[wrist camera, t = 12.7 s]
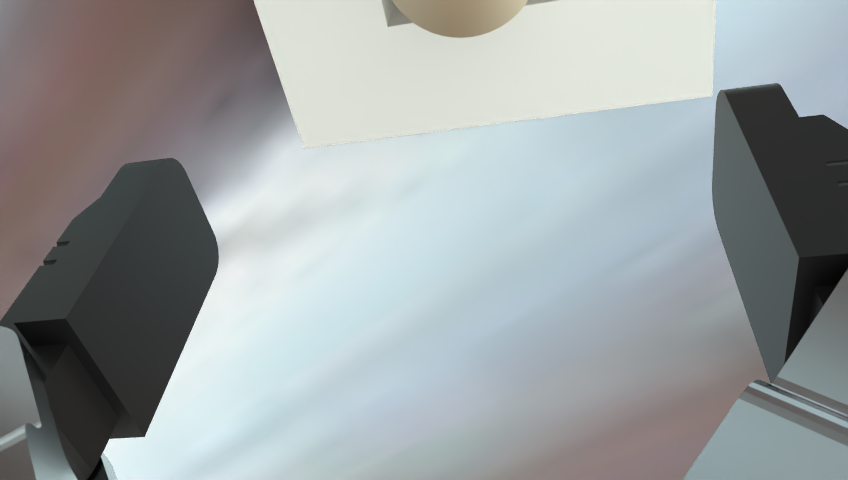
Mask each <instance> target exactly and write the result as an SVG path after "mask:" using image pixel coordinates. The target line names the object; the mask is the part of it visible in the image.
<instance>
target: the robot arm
mask: <svg viewBox="0 0 848 480" xmlns="http://www.w3.org/2000/svg"><path fill="white" fill-rule="evenodd" d="M712 196H713V207H714V214H715V219H716V224H717V227H718V231H719V233H720V236H721V239H722V242H723V245H724V248H725V251H726V254H727V257H728V260H729V263H730V266H731V269H732V271H733V274H734V277H735V280H736V283H737V286H738V289H739V292H740V295H741V298H742V301H743V304H744V307H745V309H746V312H747V315H748V318H749V321H750V324H751V327H752V330H753V333H754V336H755V339H756V342H757V345H758V347H759V350H760V353H761V356H762V359H763V362H764V365H765V368H766V371H767V374H768V377H769V380H770V383H771V384H768V383H766V382H763V381H761V380H755V381H754V382H752V383H751V384H750V385H749V386H748V387H747V388H746V389H745V390H744V391H743V393H742V394H741V395H740V397H739V398H738V399H737V401H736V402H735V404H734V405H733V407H732V408H731V410H730V411H729V413H728V414H727V416H726V417H725V418H724V420H723V421H722V423H721V424H720V426H719V427H718V429H717V430H716V432H715V433H714V435H713V436H712V438H711V439H710V440H709V442H708V443H707V445H706V446H705V448H704V449H703V451H702V452H701V454H700V455H699V457H698V458H697V459H696V461H695V462H694V464H693V465H692V467H691V468H690V470H689V471H688V473H687V474H686V476H685V477H684V479H683V480H848V129H846V128H845V127H843V126H841V125H840V124H838V123H836V122H835V121H833V120H831V119H830V118H828V117H827V116H825V115H816V116H807V117H799V116H798V114H797V113H796V111H795V109H794V107H793V106H792V104H791V102H790V100H789V99H788V97H787V95H786V94H785V92H784V90H783V88H782V87H781V85H779V84H777V83H775V84H767V85H759V86H751V87H743V88H735V89H727V90H721V91H719V93H718V96H717V101H716V114H715V135H714V157H713V178H712ZM56 243H57V247H53V248H52V249H51V251H50V252H49V254H48V255H47V256H46V258H45V259H44V261H43V262H44V266H39V268H38V269H37V271H36V272H35V273H34V275H33V276H32V278H31V279H30V280H29V282H28V283H27V285H26V286H25V287H24V289H23V290H22V292H21V293H20V294H19V296H18V297H17V299H16V300H15V301H14V303H13V304H12V306H11V307H10V308H9V310H8V311H7V313H6V314H5V315H4V317H3V318H2V320H1V321H0V480H117V478H116V475H115V472H114V469H113V466H112V465H111V463H110V461H109V460H108V458H107V457H106V456H105V454H104V453H103V451H104V449H105V447H106V445H107V443H108V440H109V439H113V438H131V437H145V435H146V432H147V430H148V428H149V425H150V423H151V421H152V419H153V416H154V414H155V412H156V409H157V407H158V405H159V403H160V400H161V398H162V396H163V394H164V391H165V389H166V387H167V384H168V382H169V380H170V378H171V375H172V373H173V371H174V368H175V366H176V364H177V362H178V359H179V357H180V355H181V353H182V350H183V348H184V346H185V343H186V341H187V339H188V337H189V334H190V332H191V330H192V327H193V325H194V323H195V321H196V318H197V316H198V314H199V311H200V309H201V307H202V305H203V302H204V300H205V298H206V296H207V293H208V291H209V289H210V286H211V284H212V282H213V280H214V277H215V275H216V272H217V268H218V259H219V256H218V246H217V241H216V238H215V235H214V233H213V230H212V228H211V226H210V224H209V222H208V219H207V217H206V215H205V213H204V211H203V208H202V206H201V204H200V202H199V200H198V198H197V195H196V193H195V191H194V189H193V187H192V184H191V182H190V180H189V178H188V176H187V174H186V171H185V170H184V168H183V166H182V165H181V164H180V163H179V162H178V161H177V160H176V159H173V158H167V159H159V160H151V161H143V162H135V163H128V164H125V165H123V166H122V167H121V168H120V170H119V171H118V173H117V174H116V176H115V177H114V178H113V180H112V181H111V183H110V184H109V186H108V187H107V189H106V190H105V191H104V193H103V194H102V196H101V197H100V198H99V199H97V200H96V201H95V202H94V203H92V204H91V205H90V206H89V207H88V208H86V209H85V210H84V211H83V212H81V213H80V214H79V215H78V216H77V217H75V218H74V219H73V220H72V221H71V223H70V224H69V226H68V227H67V228H66V230H65V231H64V233H63V234H62V235H61V237H60V238H59V240H58V241H57V242H56Z"/></svg>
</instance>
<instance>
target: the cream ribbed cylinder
mask: <svg viewBox="0 0 848 480" xmlns="http://www.w3.org/2000/svg"><path fill="white" fill-rule="evenodd" d="M392 1H393V3H394V4H395V5H396V7H397V8H398V9H399V10H400V12H401V13H402V14H403V15H404V16H405V17H407V18H408V19H409V20H410V21H412V22H413V23H414V24H416V25H417V26H419V27H421V28H422V29H424V30H427V31H429V32H431V33H434V34H437V35H441V36H446V37H453V38H466V37H474V36H479V35H483V34H486V33H489V32H491V31H493V30H495V29H497V28H499V27H501V26H503V25H504V24H506V23H507V22H509V21H510V20H511V19H512V18H513V17H515V16H516V15H517V14H518V13H519V12H520V10H521V9H522V8H523V7H524V6H525V4H526V3H527V1H528V0H392Z"/></svg>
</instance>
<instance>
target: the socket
mask: <svg viewBox="0 0 848 480" xmlns="http://www.w3.org/2000/svg"><path fill="white" fill-rule="evenodd" d="M254 3H255V6H256V9H257V12H258V15H259V18H260V21H261V24H262V27H263V30H264V33H265V36H266V39H267V42H268V45H269V48H270V51H271V54H272V57H273V60H274V62H275V65H276V68H277V71H278V74H279V77H280V80H281V83H282V86H283V89H284V92H285V95H286V98H287V101H288V104H289V107H290V110H291V113H292V116H293V119H294V122H295V125H296V128H297V131H298V134H299V137H300V140H301V143H302V146H303V149H306V148H314V147H322V146H330V145H337V144H345V143H353V142H361V141H368V140H376V139H384V138H392V137H399V136H407V135H415V134H423V133H430V132H438V131H446V130H454V129H461V128H469V127H477V126H485V125H492V124H500V123H508V122H516V121H523V120H531V119H539V118H547V117H555V116H562V115H570V114H578V113H586V112H593V111H601V110H609V109H617V108H624V107H632V106H640V105H648V104H655V103H663V102H671V101H679V100H686V99H694V98H702V97H710V96H712V91H713V67H714V43H715V19H716V0H528V1H527V3H526V4H525V6H524V7H523V8H522V9H521V10H520V12H519V13H518V14H517V15H516V16H515V17H513V18H512V19H511V20H510V21H509V22H507V23H506V24H504V25H503V26H501V27H499V28H497V29H495V30H493V31H491V32H489V33H486V34H483V35H479V36H474V37H466V38H453V37H446V36H441V35H437V34H434V33H431V32H429V31H427V30H424V29H422V28H421V27H419V26H417V25H416V24H414V23H413V22H412V21H410V20H409V19H408V18H407V17H405V16H404V15H403V14H402V13H401V12H400V10H399V9H398V8H397V7H396V5H395V4H394V3H393V1H392V0H254Z"/></svg>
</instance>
